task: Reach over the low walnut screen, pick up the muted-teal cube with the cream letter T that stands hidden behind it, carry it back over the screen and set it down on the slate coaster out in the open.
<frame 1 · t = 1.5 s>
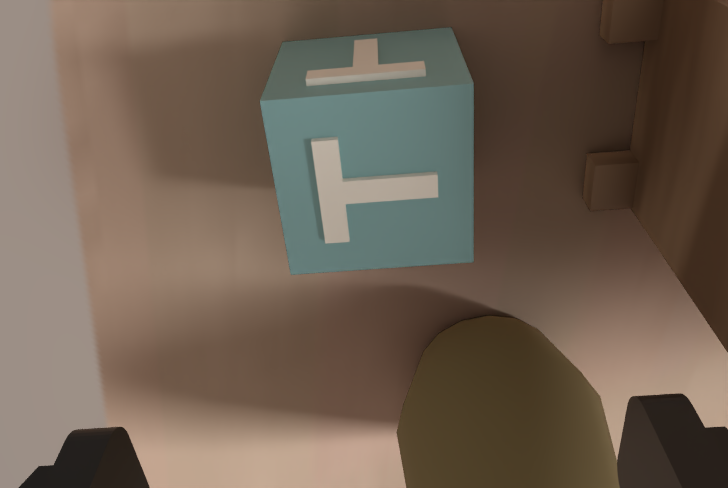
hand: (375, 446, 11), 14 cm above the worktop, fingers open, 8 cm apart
cube: (373, 113, 23), on the worktop
screen: (667, 91, 23), on the worktop
squeeze bottle: (484, 361, 29), on the worktop
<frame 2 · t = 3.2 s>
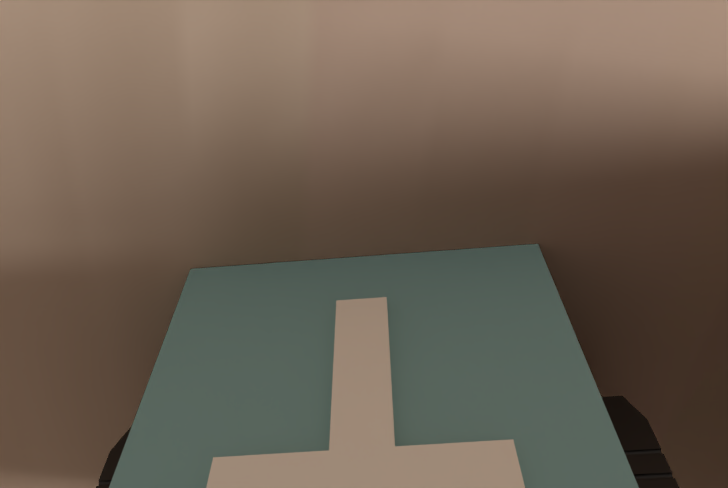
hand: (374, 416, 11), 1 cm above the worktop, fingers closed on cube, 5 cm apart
cube: (375, 382, 12), on the worktop, touching gripper
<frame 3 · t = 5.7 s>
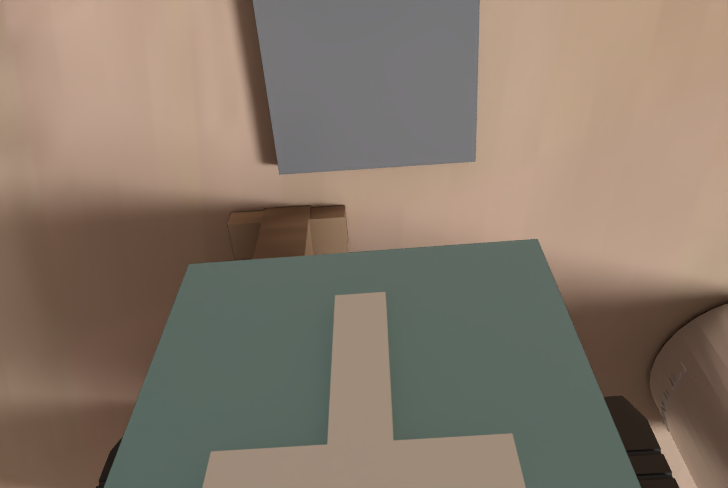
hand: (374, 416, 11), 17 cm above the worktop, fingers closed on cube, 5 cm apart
cube: (374, 378, 12), point 16 cm above the worktop, touching gripper
screen: (298, 281, 31), on the worktop
coaster: (370, 65, 26), on the worktop
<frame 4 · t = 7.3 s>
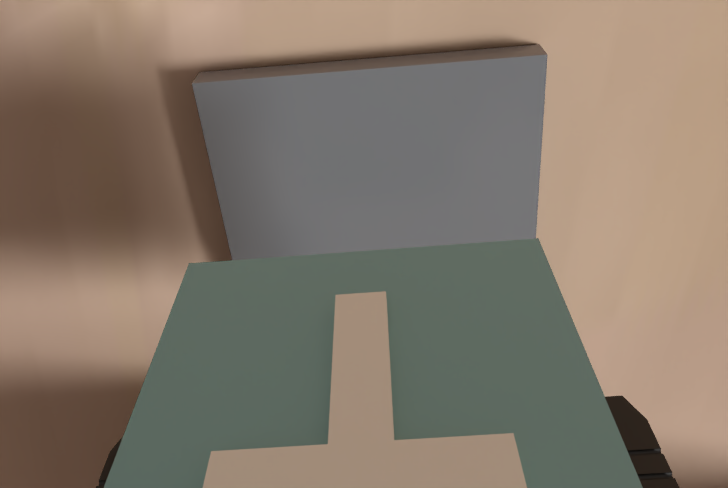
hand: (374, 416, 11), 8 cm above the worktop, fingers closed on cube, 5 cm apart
cube: (374, 378, 12), point 7 cm above the worktop, touching gripper
coaster: (379, 207, 18), on the worktop
when the fingers open (2 cm above the worktop, at t = 8.6 s): cube stays where it is, resting on coaster.
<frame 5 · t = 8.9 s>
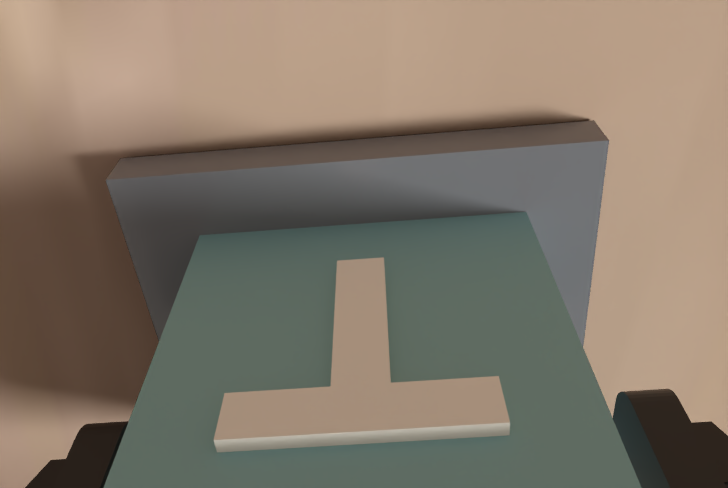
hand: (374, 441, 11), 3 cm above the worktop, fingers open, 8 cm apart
cube: (373, 346, 13), point 1 cm above the worktop, touching coaster
coaster: (372, 323, 13), on the worktop
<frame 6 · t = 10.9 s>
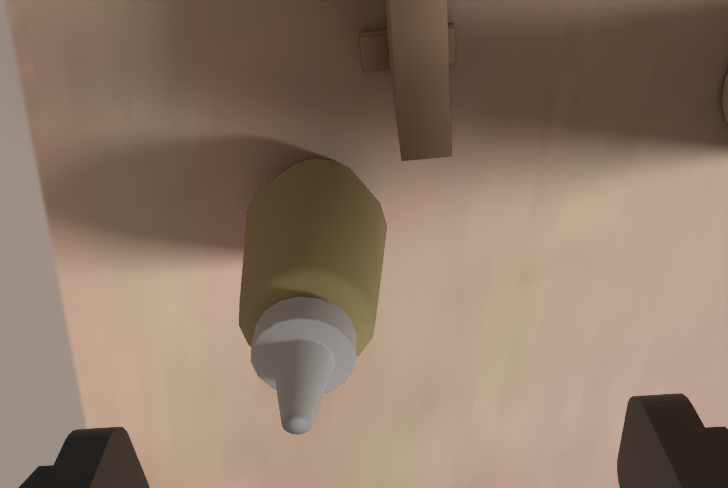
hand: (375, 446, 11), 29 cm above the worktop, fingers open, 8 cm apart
squeeze bottle: (319, 198, 41), on the worktop
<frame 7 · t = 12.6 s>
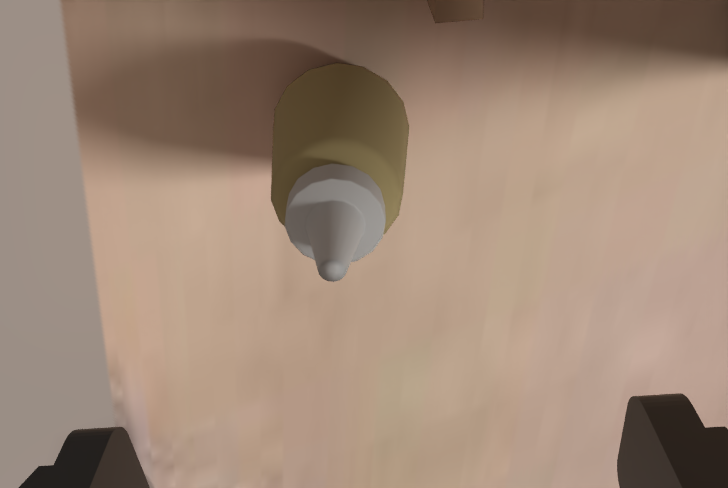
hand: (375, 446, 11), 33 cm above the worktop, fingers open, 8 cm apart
squeeze bottle: (342, 106, 43), on the worktop
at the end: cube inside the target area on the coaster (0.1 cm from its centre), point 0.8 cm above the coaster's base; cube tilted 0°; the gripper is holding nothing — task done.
